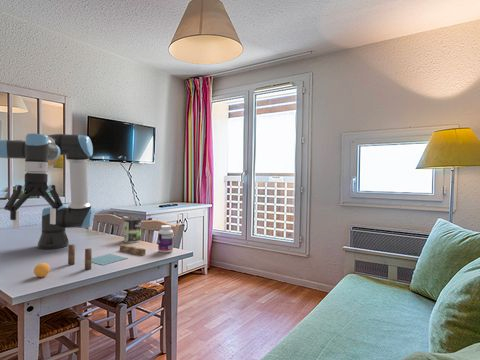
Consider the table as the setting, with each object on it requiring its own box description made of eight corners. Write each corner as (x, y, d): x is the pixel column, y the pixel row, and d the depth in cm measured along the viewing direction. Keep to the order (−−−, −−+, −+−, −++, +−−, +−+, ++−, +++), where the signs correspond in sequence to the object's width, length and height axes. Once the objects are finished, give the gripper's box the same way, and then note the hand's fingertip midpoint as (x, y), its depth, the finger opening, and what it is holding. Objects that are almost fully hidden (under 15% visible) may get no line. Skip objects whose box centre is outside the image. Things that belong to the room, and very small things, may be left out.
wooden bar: (119, 250, 164) (119, 245, 164) (122, 249, 166) (122, 244, 166) (142, 255, 155) (142, 249, 155) (145, 254, 157) (145, 249, 157)
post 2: (83, 269, 131) (83, 249, 130) (88, 267, 133) (89, 248, 133) (87, 270, 129) (87, 250, 129) (92, 268, 132) (92, 248, 131)
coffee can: (143, 239, 192) (144, 218, 191) (135, 243, 182) (135, 220, 181) (129, 238, 194) (130, 217, 193) (120, 242, 184) (120, 219, 183)
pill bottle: (159, 249, 168) (160, 224, 168) (173, 249, 169) (174, 224, 169) (156, 253, 160) (157, 227, 160) (171, 253, 161) (172, 227, 161)
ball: (30, 277, 119) (31, 263, 119) (45, 273, 124) (45, 260, 124) (38, 280, 116) (38, 266, 116) (52, 276, 121) (52, 262, 121)
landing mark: (84, 260, 144) (84, 260, 144) (109, 254, 156) (109, 253, 156) (102, 265, 137) (102, 264, 137) (127, 258, 149) (127, 258, 149)
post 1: (66, 264, 137) (67, 245, 136) (72, 263, 139) (72, 244, 139) (70, 265, 135) (70, 246, 135) (75, 264, 138) (76, 245, 138)
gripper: (4, 171, 104) (2, 231, 104) (72, 173, 126) (71, 223, 126) (-7, 171, 107) (-8, 229, 107) (62, 173, 129) (60, 221, 129)
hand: (35, 226), depth 116 cm, fingers open, 13 cm apart
